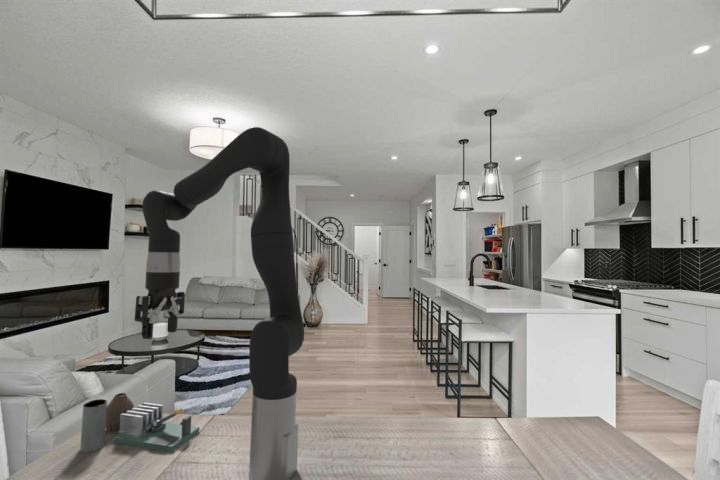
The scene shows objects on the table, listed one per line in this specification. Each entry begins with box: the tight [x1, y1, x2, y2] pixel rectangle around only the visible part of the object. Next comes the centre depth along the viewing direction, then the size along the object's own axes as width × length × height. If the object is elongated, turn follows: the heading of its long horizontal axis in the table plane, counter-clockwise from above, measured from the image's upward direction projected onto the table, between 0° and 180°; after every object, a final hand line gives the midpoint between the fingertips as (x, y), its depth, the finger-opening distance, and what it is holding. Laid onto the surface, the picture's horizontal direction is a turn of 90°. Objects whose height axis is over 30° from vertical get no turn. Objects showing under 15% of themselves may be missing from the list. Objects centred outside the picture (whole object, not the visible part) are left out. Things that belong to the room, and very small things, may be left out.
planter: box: [80, 398, 108, 453], centre depth 84 cm, size 4×4×10 cm
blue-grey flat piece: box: [152, 408, 183, 428], centre depth 90 cm, size 7×3×1 cm, turn 79°
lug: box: [179, 415, 192, 436], centre depth 89 cm, size 2×2×4 cm
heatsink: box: [117, 402, 166, 439], centre depth 90 cm, size 8×8×5 cm
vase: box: [105, 392, 135, 433], centre depth 93 cm, size 7×7×9 cm
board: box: [113, 421, 201, 453], centre depth 89 cm, size 16×10×1 cm, turn 79°
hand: (160, 335), depth 89 cm, fingers open, 8 cm apart
